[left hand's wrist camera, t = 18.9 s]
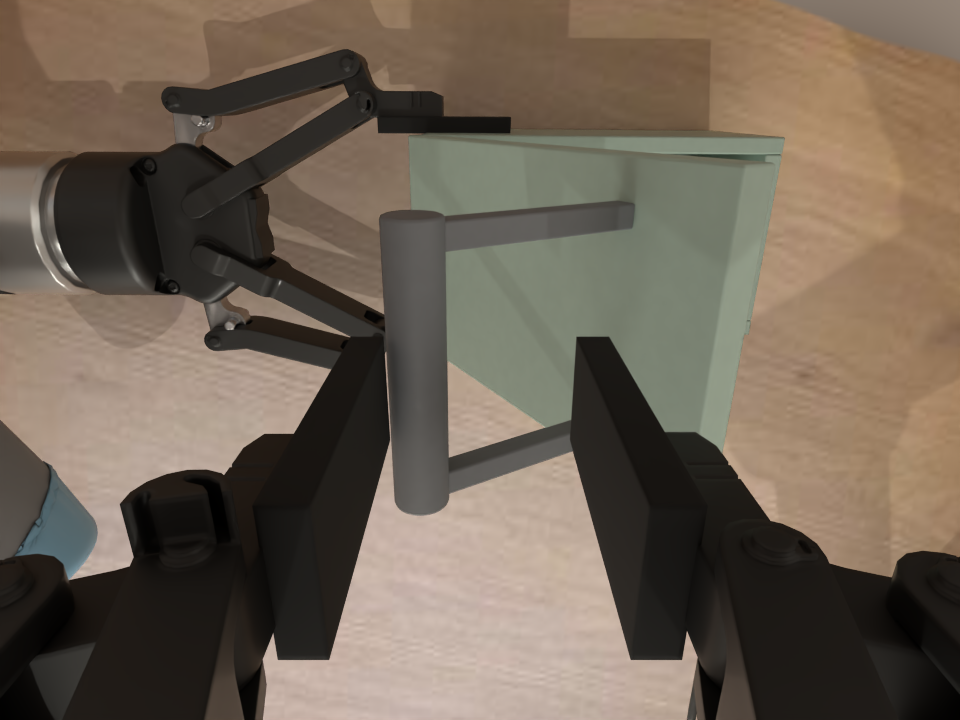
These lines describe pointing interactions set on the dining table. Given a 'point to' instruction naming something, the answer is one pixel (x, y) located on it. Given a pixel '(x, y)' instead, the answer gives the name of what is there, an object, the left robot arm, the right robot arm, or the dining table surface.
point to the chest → (661, 152)
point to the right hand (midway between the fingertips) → (506, 226)
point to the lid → (560, 292)
